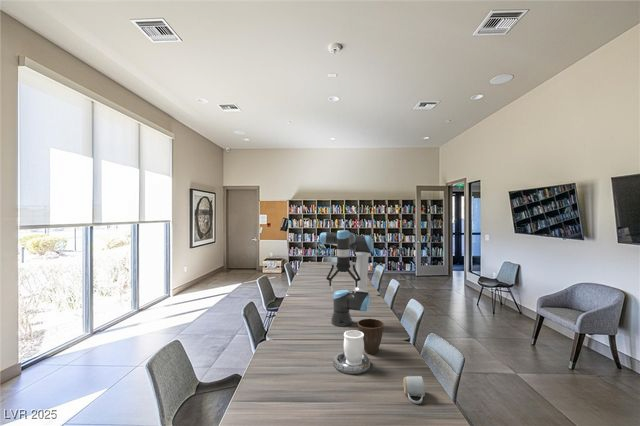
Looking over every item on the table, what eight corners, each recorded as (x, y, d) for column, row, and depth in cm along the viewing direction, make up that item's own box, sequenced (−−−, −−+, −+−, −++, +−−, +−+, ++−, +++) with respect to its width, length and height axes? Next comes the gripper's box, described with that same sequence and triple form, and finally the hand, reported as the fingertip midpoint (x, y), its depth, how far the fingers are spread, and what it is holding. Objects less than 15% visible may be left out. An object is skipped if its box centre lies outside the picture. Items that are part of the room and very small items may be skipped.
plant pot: (368, 359, 159) (368, 329, 159) (352, 348, 172) (352, 321, 172) (389, 353, 166) (389, 325, 166) (373, 343, 179) (373, 317, 179)
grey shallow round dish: (326, 364, 154) (326, 357, 154) (350, 352, 167) (350, 346, 167) (353, 379, 140) (353, 371, 140) (377, 365, 153) (377, 358, 153)
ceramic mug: (402, 388, 132) (402, 371, 132) (421, 390, 131) (421, 373, 131) (406, 404, 121) (406, 385, 121) (427, 405, 121) (427, 387, 120)
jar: (358, 356, 160) (358, 328, 160) (367, 365, 150) (367, 336, 150) (340, 359, 156) (340, 331, 156) (349, 369, 146) (348, 339, 147)
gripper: (321, 256, 172) (321, 292, 172) (364, 257, 169) (364, 294, 169) (323, 255, 180) (323, 289, 180) (364, 255, 177) (364, 290, 176)
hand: (343, 292), depth 174 cm, fingers open, 13 cm apart
